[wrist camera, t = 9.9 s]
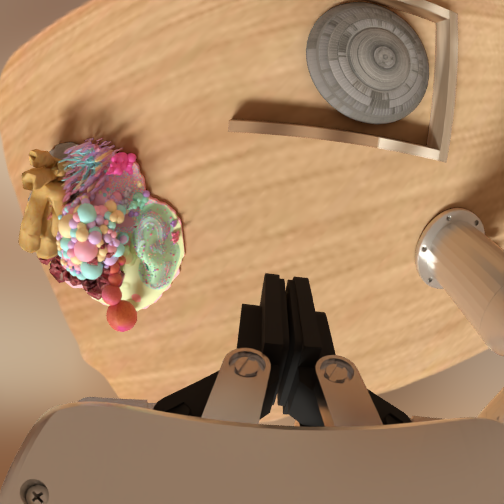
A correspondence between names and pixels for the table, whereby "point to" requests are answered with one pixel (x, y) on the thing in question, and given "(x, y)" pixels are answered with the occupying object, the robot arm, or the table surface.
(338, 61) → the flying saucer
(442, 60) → the bay
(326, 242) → the table surface
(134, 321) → the candy landscape model
